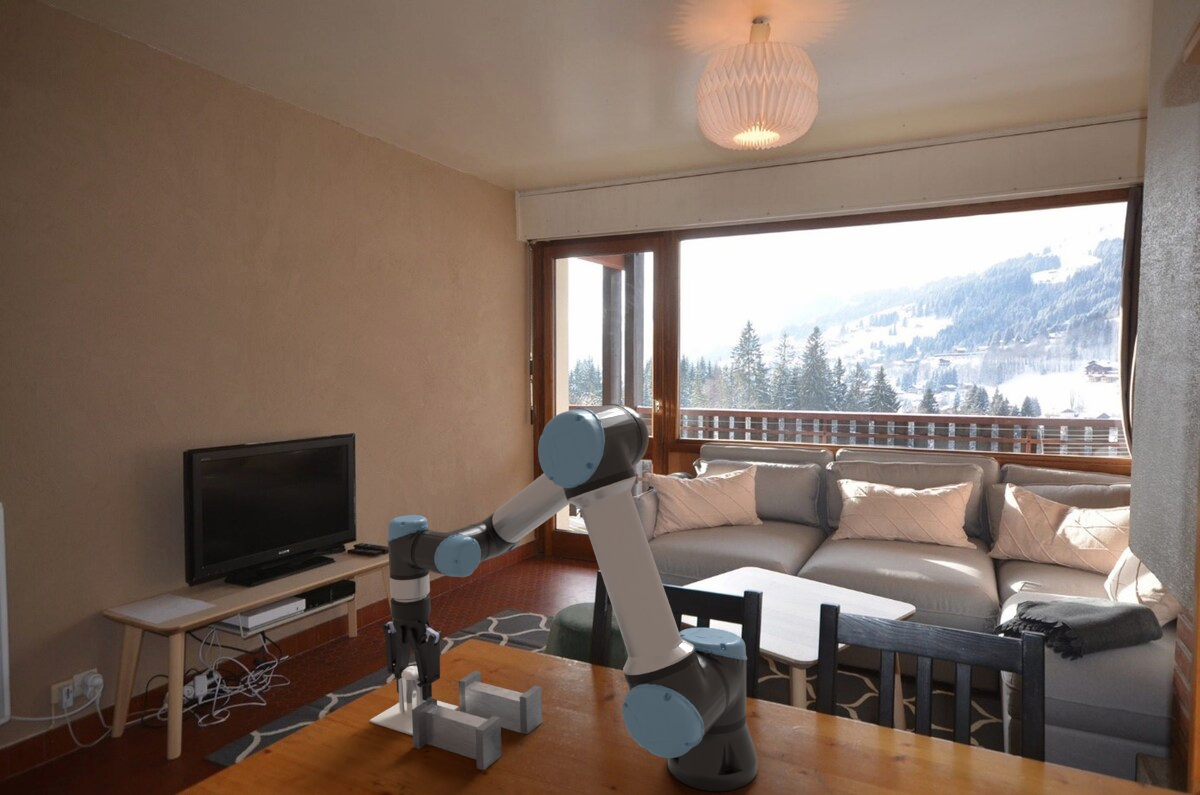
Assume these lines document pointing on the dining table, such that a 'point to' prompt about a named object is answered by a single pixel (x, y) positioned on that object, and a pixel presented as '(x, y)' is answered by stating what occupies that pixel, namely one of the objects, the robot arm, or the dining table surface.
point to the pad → (401, 718)
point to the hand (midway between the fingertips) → (415, 711)
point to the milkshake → (410, 688)
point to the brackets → (476, 719)
